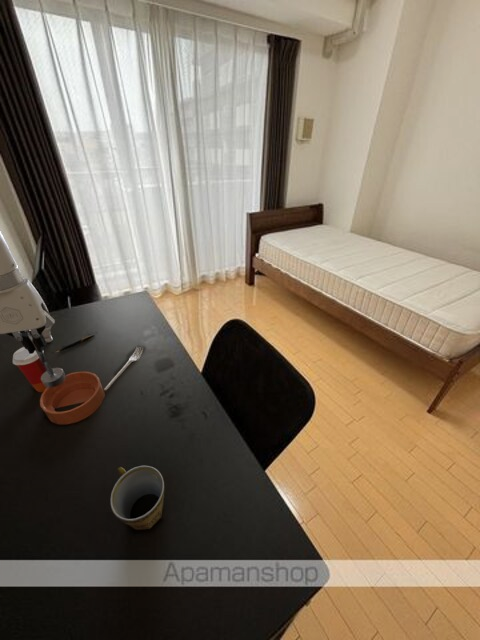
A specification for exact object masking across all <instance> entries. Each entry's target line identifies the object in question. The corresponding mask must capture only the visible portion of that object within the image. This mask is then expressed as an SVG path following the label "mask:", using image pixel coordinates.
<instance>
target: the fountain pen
mask: <svg viewBox="0 0 480 640" xmlns="http://www.w3.org/2000/svg"><path fill="white" fill-rule="evenodd" d="M94 337H95V334H91V335H88V336H85V337H83V338H80V339H79V340H76V341H74V342H73V343H70V344H68V345H66V346H64V347H62V348H59V349H58V350H57V351H55V353H59V352H63V351H65V350H68V349H70V348H73V347H75V346H77V345H79V344H81V343H84V342H87V341H88V340H90V339H92V338H94Z"/></svg>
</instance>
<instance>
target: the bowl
mask: <svg viewBox="0 0 480 640" xmlns="http://www.w3.org/2000/svg"><path fill="white" fill-rule="evenodd" d="M65 375H66V379H65V380H64V382H63V383H61V384H60V385H58V386H56V387H51V388H48V387H47V388H46V389H45V391H44V392H41V395H40V398H39V406H40V408H41V410H42V411H43V413H44V415H45V416H46V417H47V419H48V420H49V421H50V422H52V423H54V424H56V425H69V424H70V425H71V424H75V423H78V422H80V421H82V420H85V419H87V418H88V417H89V416H91V415H92V414H93V413H95V412H96V411H97V410H98V409H99V408H100V406H101V405H102V403H103V401H104V400H105V397H106V393H105V392H106V391H104V388H103V385H102V382H101V380H100V378H99V377H98V375H96V374H95V373H94V372H90V371H75V372H70V373H68V374H65ZM77 404H81V405H79V406H75V407H73V408H72V409H71V408H70V409H68V410H64V411H56V410H55V409H58V408H63V407H67V406H72V405H77Z"/></svg>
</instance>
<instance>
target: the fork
mask: <svg viewBox="0 0 480 640" xmlns="http://www.w3.org/2000/svg"><path fill="white" fill-rule="evenodd" d="M143 352H144V347H142V346H136V348H135V350H134V351H133V353H132V354H131V356H130V357H129V358H128V361H127V362H126V363H125V364H124V365H123V366H122V367H121V369H120V370H119V371H118V372H117V373H116V375H115V376H114V377H113V378H112V379H111V380H110V382H109V383H108V384H107V385H106V386H104V387H105V388H103V390H104V392H107V390H108V389H110V387H111V386H112V385H113V384H114V383H115V382H116V380H117V379H118V378H119V377H121V375H122V374H123V373H124V371H125V370H126V369H127V368H128V367H129V366H130V365H131V363H132V362H133V363H134V362H138V361H139V360H140V359H141V356H142V354H143Z"/></svg>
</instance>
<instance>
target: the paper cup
mask: <svg viewBox="0 0 480 640" xmlns="http://www.w3.org/2000/svg"><path fill="white" fill-rule="evenodd" d="M43 353H44V350H43ZM12 364H13V365H15V366H17V368H18V369H19V370H20V371H21V374H23V376H24V378H26V380H27V381H28V382H29V384H30V385H31V386H32V388H33V389H34V390H35V391H36V392H38V393H43V392H44V391H45V389H46V388H47V387H45V386H44V384H43V382H42V381H41V376H42V375H43V374H44V373H45V372H46V369H45V367H44V365H43V363H42V362H41V360H40V358H39V356H38V355H37V353H36V351H34V353H33V354H29V352H28V350H27V349H25V347H24V346H22V347H20V348H19V349H17V350H16V351H15V352H14V353H13V355H12Z"/></svg>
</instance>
